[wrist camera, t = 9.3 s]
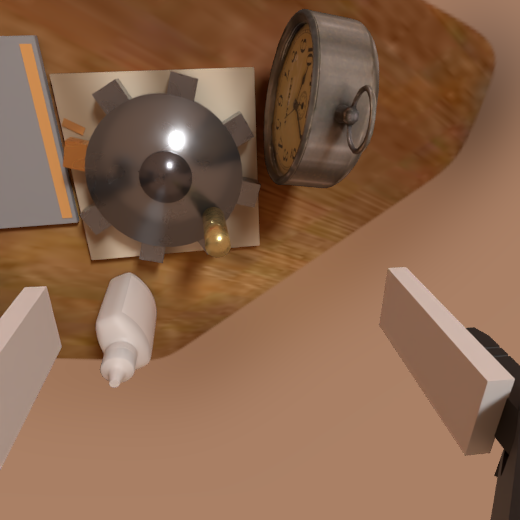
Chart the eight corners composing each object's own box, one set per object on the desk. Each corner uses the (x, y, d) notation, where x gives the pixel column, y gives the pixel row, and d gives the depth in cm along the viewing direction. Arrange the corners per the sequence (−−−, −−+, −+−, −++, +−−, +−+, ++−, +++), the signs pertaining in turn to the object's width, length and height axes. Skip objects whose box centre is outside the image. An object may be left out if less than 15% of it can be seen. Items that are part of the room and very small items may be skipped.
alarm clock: (274, 17, 32) (346, -19, 17) (341, 30, 33) (462, 6, 18) (254, 161, 36) (297, 229, 22) (313, 168, 37) (393, 237, 23)
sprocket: (234, 267, 39) (244, 312, 32) (62, 237, 35) (30, 280, 28) (278, 101, 33) (302, 112, 26) (78, 44, 30) (44, 39, 23)
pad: (-21, 227, 35) (-24, 230, 34) (-86, 38, 29) (-92, 38, 28) (79, 220, 36) (77, 222, 35) (36, 35, 30) (33, 35, 29)
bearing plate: (93, 256, 38) (91, 260, 37) (52, 73, 31) (49, 74, 30) (258, 242, 39) (259, 245, 39) (252, 67, 33) (254, 67, 32)
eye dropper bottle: (159, 272, 39) (148, 352, 29) (156, 322, 42) (145, 413, 31) (110, 269, 38) (80, 350, 28) (110, 320, 41) (82, 413, 30)
